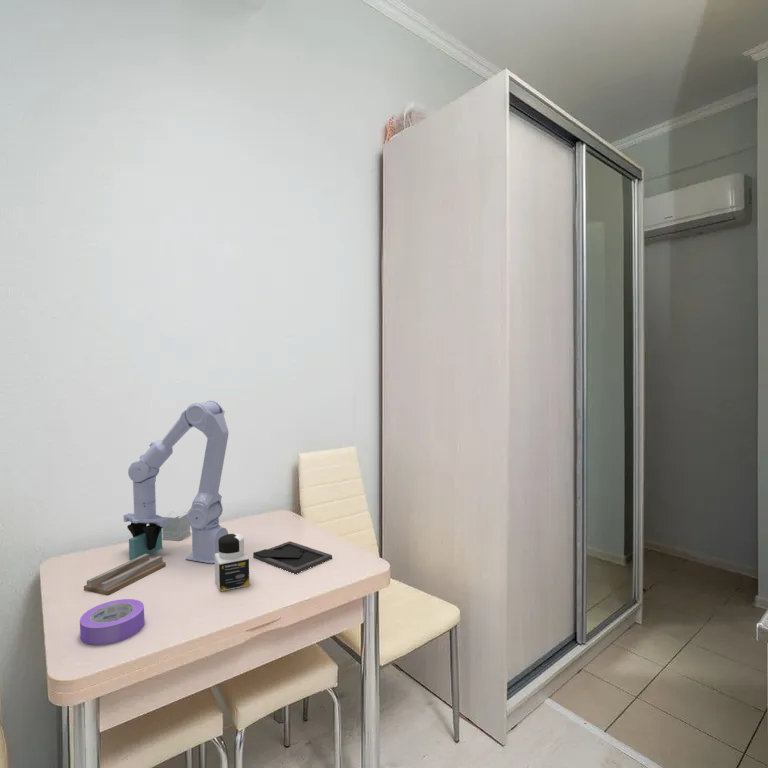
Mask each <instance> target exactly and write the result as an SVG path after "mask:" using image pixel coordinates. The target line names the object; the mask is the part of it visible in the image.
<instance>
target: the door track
mask: <svg viewBox="0 0 768 768" xmlns="http://www.w3.org/2000/svg"><path fill="white" fill-rule="evenodd" d="M166 565H167V562H165V561H164V560H163V556H161V555H158V556H156V557H154V558H151V559H150V554H144V555H142V556H140V557H138V558H135V559H133V560H129V561H127V562H125V563H122V564H120V565H118V566H116V567H113V568H112V569H109V570H107V571H105V572H103V573H101V574H98V575H96V576H94V577H92V578H89V579H87V580H86V584H85V585H84V586H83V591H85V592H92V593H95V594H101V595H106V596H110V595H112V594H114V593H115V592H118V591H120V590H121V589H124V588H126V587H128V586H130V585H131V584H133V583H135V582H137V581H139V580H142V579H143V578H145V577H147V576H149V575H151V574H152V573H154V572H156V571H159V570H161V569H162V568H165V567H166Z"/></svg>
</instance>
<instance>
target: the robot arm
mask: <svg viewBox="0 0 768 768" xmlns="http://www.w3.org/2000/svg"><path fill="white" fill-rule="evenodd" d="M192 428H196V430H199V431H200V432H201V433H203V435H204V436H205V437H206V438H207V439H206V446H205V451H204V457H203V461H202V462H203V464H202V469H201V475H200V480H199V486H198V491H197V494H196V496H194V498H193V500H192V503H191V506H190V508H189V510H188V511H187V512H188V513H187V521H188V523H189V525H190V528H191V536H192V537H191V539H192V540H191V541H192V543H191V544H192V545H191V546H192V554H191V555H187V556H186V557H185V560H187V561H188V560H189V561H195V562H200V563H205V564H215V554H216V553H219V546H218V540H219V539H220V537H222V536H224V535H227V534H229V532H228V530H227V528H225V527H224V526H223V527H222V526H221V525H220V521H219V520H220V519H219V518H220V517H221V516H222V514H223V510H224V509H223V503H222V497H223V496H222V495H221V494H220V493H219V490H220V486H221V480H222V473H223V469H224V464H225V463H224V462H225V456H226V450H227V445H228V441H229V440H228V439H229V429H228V426H227V421H226V419H225V410H224V408H223V407H222V406H221V404H219V403H218V401H217V402H216V401H215V400H208V401H204V402H195V403H191V404H190V405H189V406H188V407H187V408H186V409H185V410H184V411H182V413H181V414H180V417H179V418H178V419H177V421H176V422H175V423H174V425H173V426H172V427H171V428H170V429H169V430H168V432H167V433H166V435H164V437H163V438H162V440H161V439H157V440H156V441H153V442H150V444H149V445H148V446H149V448H148V449H147V450H146V451H145V452H144V454H141V455H140V456H139V460H138V461H134V462H131V464H130V466H129V468H128V470H127V472H128V477H129V478H130V480H131V481H132V486H133V487H132V489H133V490H132V493H133V513H130V512H129V513H126V514H123V522H124V523H126V522H127V523H128V522H130V524H128V525H127V529H128V532H129V533H130V534H131V536H132V538H133V537H136V536H138V535H141V534H143V533H145V534H146V538H147V547H148V550H152V549H154V548H155V547H156V543H157V539H158V536H159V533H160V531H161V529H162V527H163V526H166V525H168V520H167V518H164V516H162V515H158V514H157V504H156V502H157V500H156V498H157V496H156V481H157V477H158V475H159V473H160V468H161V467H162V466H163V465H164V463H166V461H167V460H168V459H169V458H170V456H172V454H173V452H174V450H173V447H174V446H175V445H176V443H178V442H179V441H180V439H182V438H183V437H184V435H185V434H186V433H188V431H189V430H190V429H192Z"/></svg>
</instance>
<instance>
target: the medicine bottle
mask: <svg viewBox="0 0 768 768" xmlns="http://www.w3.org/2000/svg"><path fill="white" fill-rule="evenodd" d="M218 546H219V553H216V554H215V563H214V580H215V584H216V585H217V589H218V590H219V592H220V591H222V592H226V591H230V589H231V590H235V588H236V589H240V587H241V588H244V587H249V586H250V558H249V556H248V554H247V553H246V552H245V537H244V536H243V535H242V534H239V533H228V534H227V535H224V536H222V537H220V539H219V540H218ZM225 590H226V591H225Z"/></svg>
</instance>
